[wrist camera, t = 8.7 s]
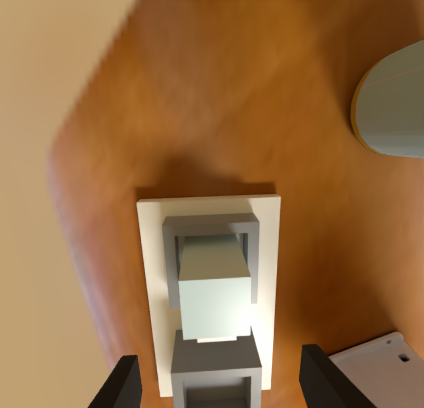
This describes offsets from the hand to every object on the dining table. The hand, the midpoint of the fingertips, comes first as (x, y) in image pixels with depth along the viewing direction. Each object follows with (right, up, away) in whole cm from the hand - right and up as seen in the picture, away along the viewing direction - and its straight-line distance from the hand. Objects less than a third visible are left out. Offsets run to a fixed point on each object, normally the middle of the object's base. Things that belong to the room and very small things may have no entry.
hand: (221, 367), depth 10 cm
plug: (0, +3, +9) cm, 9 cm away
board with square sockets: (0, -2, +11) cm, 11 cm away
